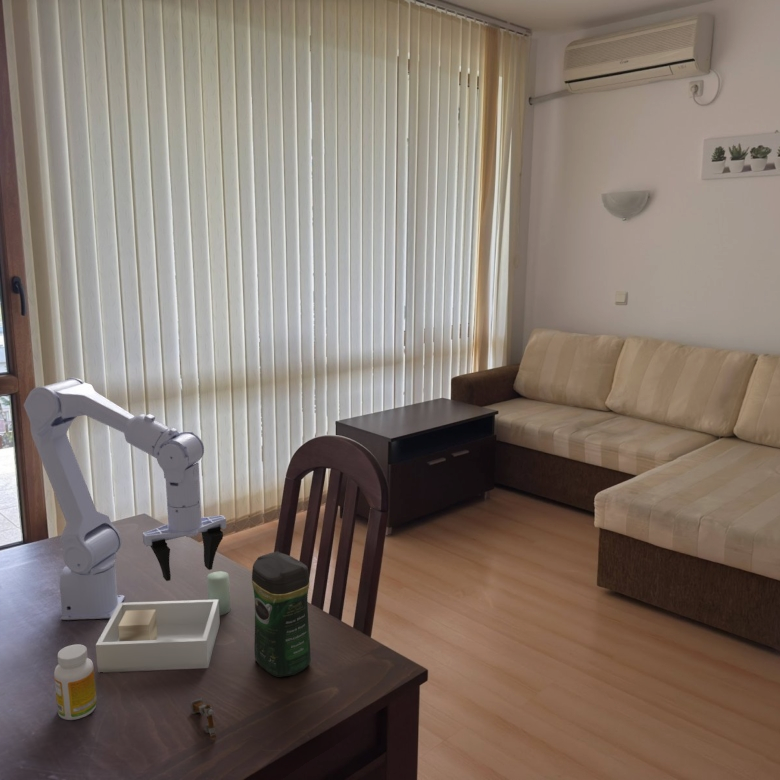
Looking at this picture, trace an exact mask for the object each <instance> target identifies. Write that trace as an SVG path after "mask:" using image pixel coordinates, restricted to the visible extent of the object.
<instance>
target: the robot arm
mask: <svg viewBox="0 0 780 780" xmlns="http://www.w3.org/2000/svg"><path fill="white" fill-rule="evenodd" d="M23 408H24V410H25V412H26V415H27V418H28V420H29V424H30V427H29V428H30V434H31V437H32V440H33V442H34V443H33V444H34V445H35V447H36V451H37V452H38V456H39V458H40V460H41V462H42V466H43V467H44V470H45V472H46V475H47V478H48V480H49V483H50V485H51V487H52V490H53V492H54V493H53V494H54V495H55V497H56V500H57V502H58V505H59V508H60V511H61V513H62V516H63V518H64V519H65V520H64V521H65V522H66V523H65V526H64V528H63V530H62V533H61V535H60V538H59V542H60V544H61V547H62V559H63V562H64V564H65V566H64V567H63V569H62V570H61V574H60V578H59V593H60V595H59V596H60V603H61V614H62V616H61V617H60V620H63V621H66V620H67V621H69V620H70V621H71V620H75V621H76V620H96V619H97V620H99V619H100V620H101V619H110V618H111V616H112V615H113V613H114V611H115V609H116V607H117V606H118V604H119V603H124V602H123V601H124V600H125V595H123V594H119V595H118V588H117V587H118V586H117V575H116V573H117V572H116V563H115V562H116V561H115V560H116V559H117V552H119V550H120V549H121V547H122V542H123V541H122V535H121V533H120V531H119V530H118V529H117V528H116V527H115V526H114V525H113V523H112V521H111V518H110V517H109V515H107V514H105V513H102V512H100V511H98V510H97V509H96V506H95V503H94V500H93V498H92V496H91V493H90V490H89V488H88V486H87V484H86V483H87V482H86V481H85V478H84V475H83V473H82V469H81V467H80V465H79V463H78V460H77V457H76V455H75V453H74V450H73V447H72V445H71V442H70V439H69V437H68V435H67V433H68V431H69V429H70V427H71V425H72V423H73V422H74V421H75V419H76V418H77V417H80V416H86V417H89V418H90V419H93V420H95V421H97V422H100V423H102V424H104V425H106V426H108V427H111V428H112V429H115V430H117V431H118V432H121V433H123V435H124V439H125V441H126V442H127V443H128V444H129V445H132V446H133V447H135V448H136V449H138V450H141V452H145V453H146V454H148V455H149V456H151V457H153V458H155V459H156V461H157V464H158V465H159V467H160V468H161V470H162V472H163V479H165V492H166V508H167V509H166V510H167V522H168V523H167V524H164V525H161V526H159V527H155V528H154V529H150V530H148V531H143V532H142V543H143V545H144V546H145V547H150V548H151V550H152V552H153V554H154V555H155V558H156V559H157V561H158V564H159V567H160V569H161V573H162V578H163V579H164V580H165V581H166V582H169V581H171V580H172V579H171V577H172V575H171V569H170V568H171V567H170V554H171V549H170V547H169V546H168V542H167V541H171V540H174V539H178V538H179V539H180V538H183V537H186V538H191V537H197V536H198V535H199V533H201V536H202V543H203V563H204V567H205V568H206V569H207V570H208V571H210V570H213V565H214V561H215V557H216V554H217V550H218V548H219V546H220V544H221V542H222V540H223V537H224V533H223V531H222V530H224V529H227V518H226V517H225V516H224V515H223V514H222V515H215V516H204V517H202V505H201V504H202V503H201V501H202V500H201V485H200V483H201V481H200V468H199V461H200V460H202V458H203V456H204V453H205V446H204V443H203V441H202V439H201V438H200V437H199V436H198V435H197V434H195V433H194V432H193V431H181V432H180V431H179V430H178V429H177V428H175V427H172V428H171V427H170V426H168V425H165V424H164V423H163V422H160V421H158V420H156V416H154V415H153V414H151V413H149V414H145V413H142V414H138V415H133V414H132V413H131V412H129V411H127V410H125V409H124V408H122V407H120V406H119V405H118V404H116V403H115V402H113V401H111V400H110V399H108V398H107V397H104V396H103V395H102V394H100V393H98V392H97V391H96V390H95V388H94V386H93V385H92V384H91V383H87V382H84V380H83V379H80V378H77V377H68V378H67V379H65V380H62V381H61V380H60V381H58V382H55V383H51V384H46V385H43V386H36V387H35V388H33V389H32V390H31V391H29V393H28V395H27V397H26V399H25V402H24V403H23Z"/></svg>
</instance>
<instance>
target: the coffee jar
mask: <svg viewBox="0 0 780 780" xmlns="http://www.w3.org/2000/svg"><path fill="white" fill-rule="evenodd" d="M310 582H311V581H310V575H309V568H308V566H307V565H306V564H305V563H303V562H302V561H300V560H298V559H297V558H295V557H294V556H292V555H288V554H286V553H283V552H280V551H277V550H276V551H273V552H270V553H267V554H263V555H260V556H258V557H257V558H256V560H255V561H254V563H253V565H252V571H251V583H252V588H253V595H254V643H253V645H254V659H255V661H256V662H257V663H258V665H259V666H260V667H261V668H262V669H263V670H265V672H267V673H268V674H270V675H272V676H273V677H274V676H275V677H277V678H278V677H289V676H294V675H297V674H298V673H301V672H302V671H304V670H305V669H306V668H307V667H308V666H309V665H310V664H311V658H312V656H311V640H310V627H309V610H308V608H309V607H308V596H309V589H310Z"/></svg>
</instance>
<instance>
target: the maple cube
mask: <svg viewBox="0 0 780 780" xmlns="http://www.w3.org/2000/svg"><path fill="white" fill-rule="evenodd" d="M118 629H119V641H143V640H156V637H157V623H156V610H130V611H126V612H125V614H124V616H123V618H122V620H121V622H120V623H119V625H118Z"/></svg>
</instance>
